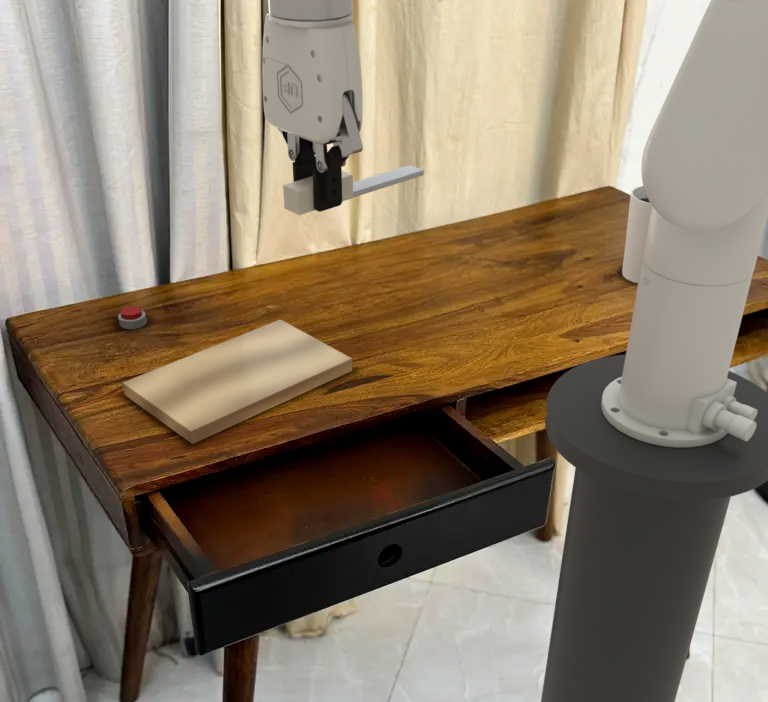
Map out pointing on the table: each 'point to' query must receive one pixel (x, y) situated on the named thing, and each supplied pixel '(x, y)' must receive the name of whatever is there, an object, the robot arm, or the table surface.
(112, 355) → the table surface
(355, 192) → the knife
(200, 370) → the cutting board
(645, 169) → the robot arm
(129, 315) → the push button
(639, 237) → the white cup
